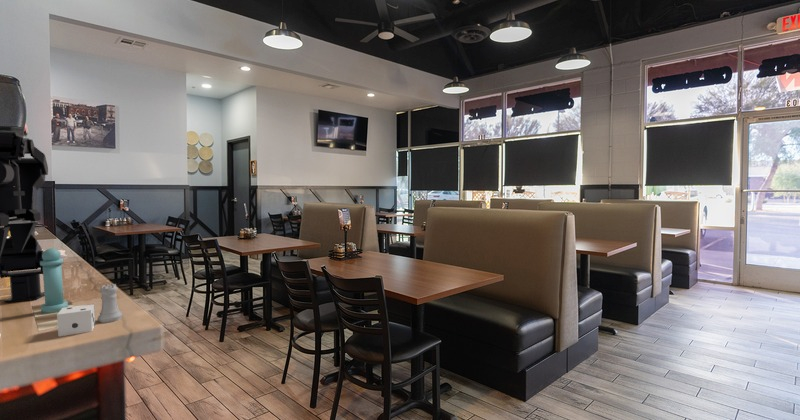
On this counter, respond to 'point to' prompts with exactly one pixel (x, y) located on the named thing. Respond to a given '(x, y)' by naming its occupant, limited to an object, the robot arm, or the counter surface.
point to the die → (76, 320)
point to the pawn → (52, 282)
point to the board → (46, 317)
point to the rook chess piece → (109, 304)
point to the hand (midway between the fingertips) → (7, 256)
